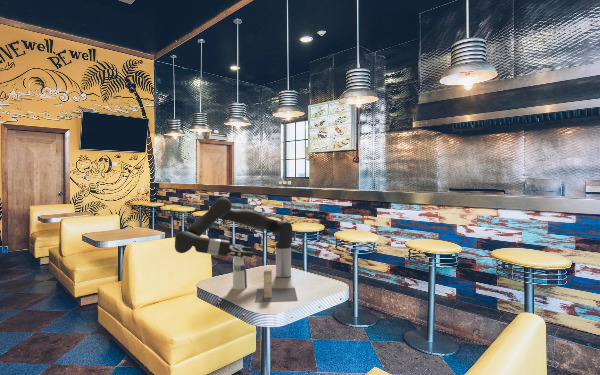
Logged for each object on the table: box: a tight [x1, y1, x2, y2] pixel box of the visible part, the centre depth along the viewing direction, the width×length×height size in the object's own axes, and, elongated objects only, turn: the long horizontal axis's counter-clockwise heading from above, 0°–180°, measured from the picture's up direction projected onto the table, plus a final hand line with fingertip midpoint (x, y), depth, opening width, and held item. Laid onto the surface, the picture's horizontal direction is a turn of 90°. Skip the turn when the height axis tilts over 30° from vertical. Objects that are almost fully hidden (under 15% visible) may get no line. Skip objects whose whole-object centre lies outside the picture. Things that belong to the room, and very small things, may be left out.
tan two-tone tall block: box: [263, 267, 273, 298], centre depth 163 cm, size 6×4×13 cm, turn 5°
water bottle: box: [232, 242, 248, 291], centre depth 177 cm, size 8×9×25 cm
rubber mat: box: [254, 287, 299, 304], centre depth 165 cm, size 21×20×1 cm
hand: (252, 252), depth 160 cm, fingers open, 8 cm apart
